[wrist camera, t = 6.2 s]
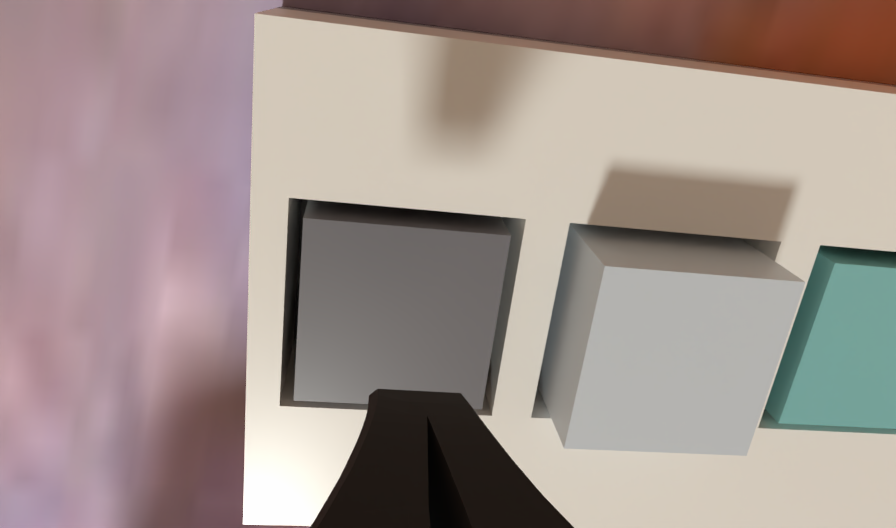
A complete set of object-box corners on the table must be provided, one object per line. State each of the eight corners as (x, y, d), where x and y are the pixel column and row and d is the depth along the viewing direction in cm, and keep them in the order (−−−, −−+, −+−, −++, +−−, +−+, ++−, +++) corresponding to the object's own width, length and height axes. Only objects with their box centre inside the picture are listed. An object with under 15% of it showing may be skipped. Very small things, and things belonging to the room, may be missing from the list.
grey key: (725, 227, 16) (805, 282, 13) (682, 376, 18) (746, 455, 15) (559, 212, 16) (604, 265, 13) (529, 368, 17) (564, 448, 14)
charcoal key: (485, 190, 16) (511, 235, 14) (463, 339, 18) (481, 409, 15) (315, 174, 16) (303, 218, 13) (306, 329, 17) (293, 400, 14)
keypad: (952, 92, 18) (1104, 120, 14) (817, 445, 22) (909, 538, 18) (281, 6, 15) (254, 13, 12) (266, 421, 19) (242, 524, 16)
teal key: (897, 229, 18) (1000, 277, 15) (846, 363, 20) (931, 430, 17) (756, 216, 18) (835, 263, 15) (714, 354, 19) (778, 423, 16)
